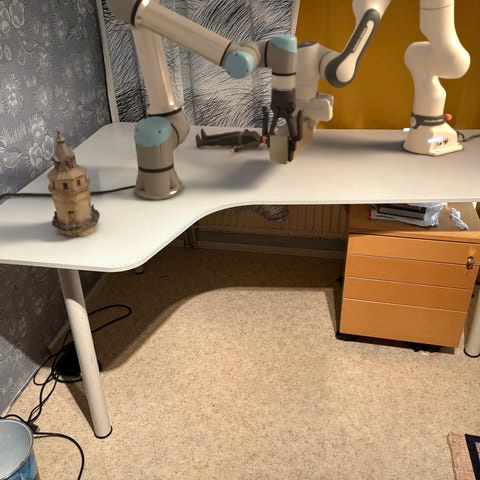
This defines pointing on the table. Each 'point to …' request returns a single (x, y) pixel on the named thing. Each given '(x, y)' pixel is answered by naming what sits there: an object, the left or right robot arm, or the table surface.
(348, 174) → the table surface
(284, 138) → the box
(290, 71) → the left robot arm
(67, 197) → the miniature building
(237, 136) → the toy
